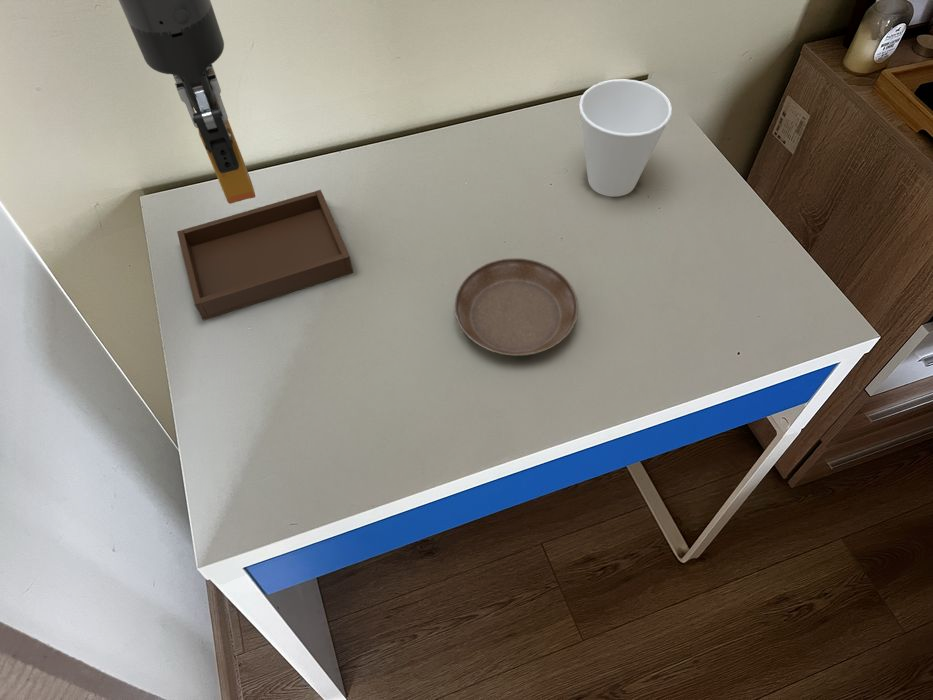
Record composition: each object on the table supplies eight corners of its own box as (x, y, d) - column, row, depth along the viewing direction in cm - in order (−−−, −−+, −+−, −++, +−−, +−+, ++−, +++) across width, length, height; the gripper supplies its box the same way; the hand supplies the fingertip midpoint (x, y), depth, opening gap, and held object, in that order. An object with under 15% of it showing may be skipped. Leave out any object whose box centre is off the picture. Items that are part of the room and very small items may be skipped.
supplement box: (251, 179, 83) (226, 108, 75) (256, 198, 81) (231, 128, 73) (223, 185, 83) (194, 115, 74) (227, 205, 81) (198, 135, 72)
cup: (651, 154, 103) (669, 79, 93) (656, 211, 96) (675, 136, 86) (570, 151, 104) (579, 76, 94) (569, 207, 97) (578, 133, 87)
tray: (203, 320, 88) (194, 304, 85) (185, 247, 95) (176, 231, 92) (353, 272, 92) (349, 256, 89) (324, 206, 99) (320, 189, 96)
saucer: (532, 388, 80) (533, 375, 78) (431, 328, 86) (429, 314, 84) (598, 306, 87) (601, 292, 85) (501, 255, 93) (501, 241, 90)
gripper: (117, -21, 67) (182, 130, 81) (135, 57, 59) (203, 209, 73) (196, -38, 68) (246, 113, 82) (223, 36, 61) (274, 189, 75)
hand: (225, 157), depth 78 cm, fingers closed on supplement box, 3 cm apart
